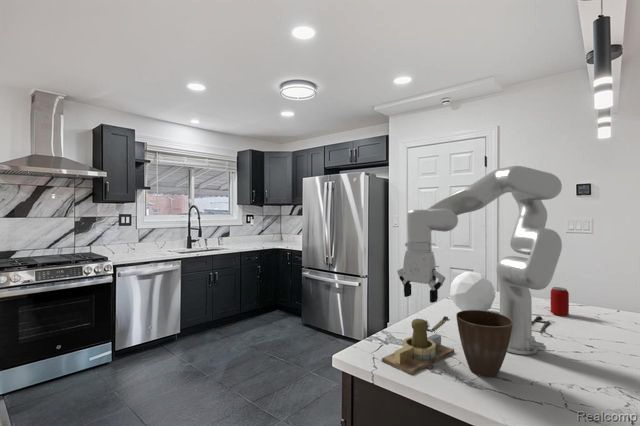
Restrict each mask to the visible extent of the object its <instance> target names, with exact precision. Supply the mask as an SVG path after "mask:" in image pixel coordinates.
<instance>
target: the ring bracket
mask: <svg viewBox="0 0 640 426" xmlns="http://www.w3.org/2000/svg"><path fill="white" fill-rule="evenodd" d="M427 340H428V348H418V347H413V346H411V344H412V336H411V337H410V336H409V337H405V338H404V339H403V341H402V348H399V349H396V350H394V353H395V363H397V364H399V365H401V364H403V363H405V362H407V361H409V360H411V359H415V360H421V361H422V360H423V361H425V360H432V359H434V358H435V355H436V348H437V347H439V346H441V345H442V335H441V334H437V333H434V334H432V335H429V336H427Z"/></svg>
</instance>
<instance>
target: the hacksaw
mask: <svg viewBox="0 0 640 426" xmlns="http://www.w3.org/2000/svg"><path fill="white" fill-rule="evenodd" d="M551 322H552V323H553V324H555V321H553V320H551V321H550V320H543V317H542V316H540V315H538V316H536V317H535V318H534V319H533V320H532V326H533V325H534V324H535V323H542V324H543V323H544V324H543V325H542V327H541V328H540V331H539V330H533V329H532V332H536V333H540V335H543V333H544V334H546V335H547V336H550V338H553V334H550V333H547V332H546V330H545V329H546V328H547V327H548V326H549V325H550V324H551ZM547 336H545V335H543V337H545V338H547Z"/></svg>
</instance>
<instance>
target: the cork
mask: <svg viewBox="0 0 640 426" xmlns="http://www.w3.org/2000/svg"><path fill="white" fill-rule="evenodd" d="M411 328H412V336H411V337H412V344H411V346H413V347H418V348H428V340H427V337H428V335H427V333H428V331H426V330H427V329H429V323H428V322H427V320H425V319H423V318H414V319H412V321H411Z"/></svg>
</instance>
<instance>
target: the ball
mask: <svg viewBox="0 0 640 426" xmlns="http://www.w3.org/2000/svg"><path fill="white" fill-rule="evenodd" d="M449 297H450V299H451V300H452V302H453V303H454V305H455V306H456V307H457V308H458V309H459V310H460V311H465V310H480V311H489V310H491V308H492V305H493V302H494V301H495V298H496V291H495V288H494V286H493V283H492V281H490V280H489V279H488V278H486V276H484V275H483V274H482V273H481V272H473V271H464V272H462V273H460V274H458V275H457V276H455V277H454V279H453V280H452V282H451V283H450V288H449Z"/></svg>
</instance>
